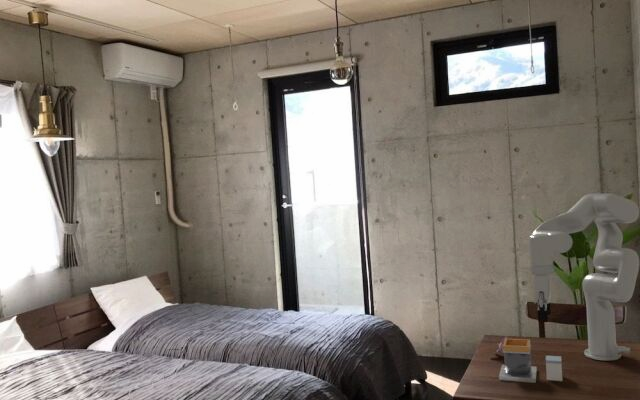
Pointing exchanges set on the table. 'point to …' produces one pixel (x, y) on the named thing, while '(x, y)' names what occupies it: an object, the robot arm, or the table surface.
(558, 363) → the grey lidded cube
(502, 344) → the lily
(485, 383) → the table surface
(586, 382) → the table surface
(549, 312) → the robot arm
